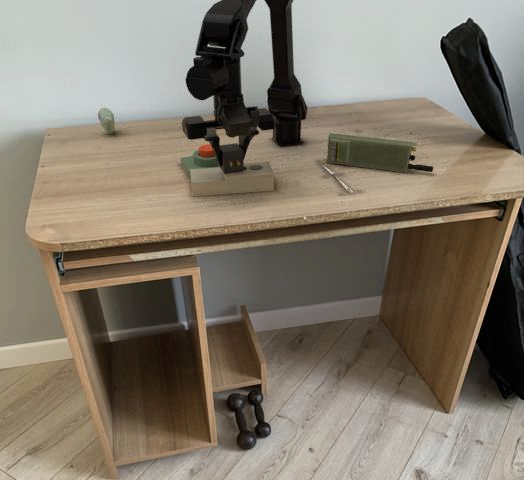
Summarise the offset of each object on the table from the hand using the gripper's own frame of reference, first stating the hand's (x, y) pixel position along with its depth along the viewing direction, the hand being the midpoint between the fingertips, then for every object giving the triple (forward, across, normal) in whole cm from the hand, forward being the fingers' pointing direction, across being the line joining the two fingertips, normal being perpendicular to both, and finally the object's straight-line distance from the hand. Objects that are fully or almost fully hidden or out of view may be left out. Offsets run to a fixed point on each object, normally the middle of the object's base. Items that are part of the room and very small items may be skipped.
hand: (230, 164), depth 111 cm
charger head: (+1, 0, 0) cm, 1 cm away
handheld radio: (+5, +36, -2) cm, 36 cm away
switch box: (+5, -2, +12) cm, 13 cm away
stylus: (+5, +24, -3) cm, 25 cm away
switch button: (+2, -2, +12) cm, 12 cm away
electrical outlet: (+5, 0, 0) cm, 5 cm away
